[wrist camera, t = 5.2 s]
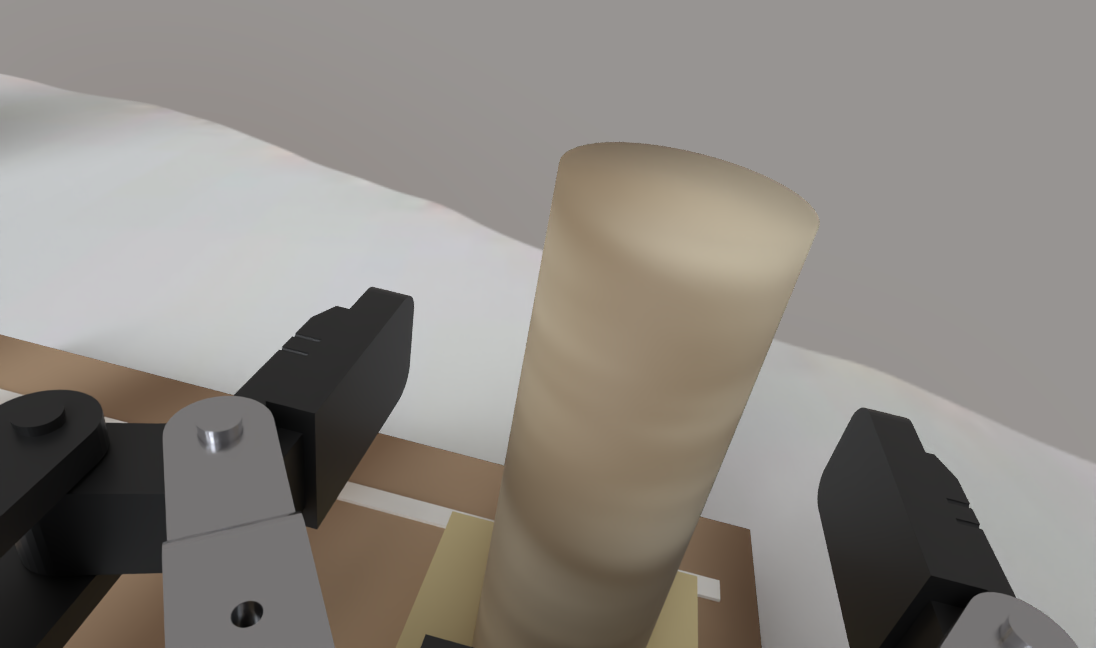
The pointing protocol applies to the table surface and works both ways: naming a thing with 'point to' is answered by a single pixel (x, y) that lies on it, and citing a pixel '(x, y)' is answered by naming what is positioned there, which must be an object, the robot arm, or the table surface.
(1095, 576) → the table surface
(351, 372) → the robot arm
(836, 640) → the table surface
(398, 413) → the table surface
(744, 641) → the walnut board
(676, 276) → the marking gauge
